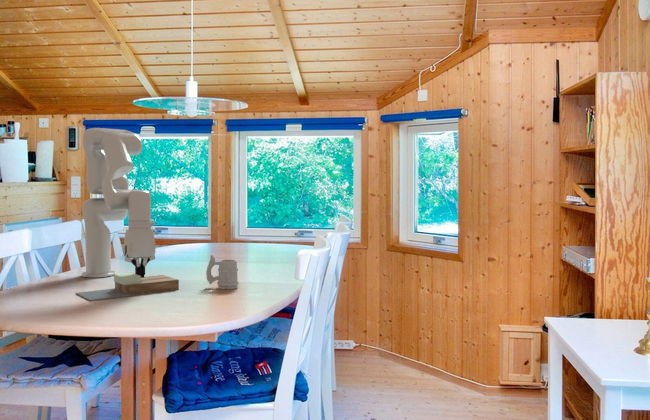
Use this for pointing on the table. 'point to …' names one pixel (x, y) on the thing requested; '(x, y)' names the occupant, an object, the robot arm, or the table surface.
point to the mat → (103, 294)
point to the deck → (150, 285)
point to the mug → (223, 273)
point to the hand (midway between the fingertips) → (140, 277)
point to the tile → (127, 278)
